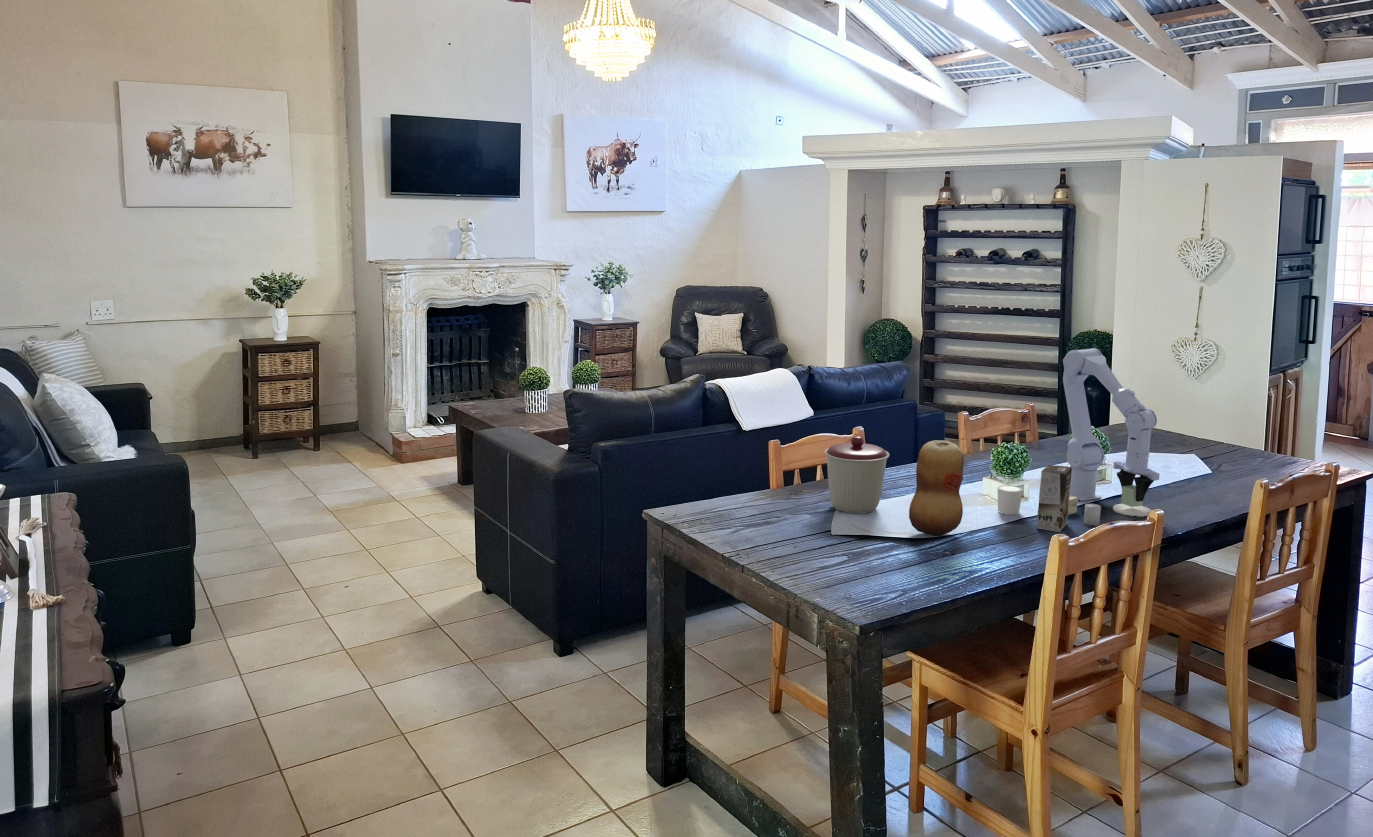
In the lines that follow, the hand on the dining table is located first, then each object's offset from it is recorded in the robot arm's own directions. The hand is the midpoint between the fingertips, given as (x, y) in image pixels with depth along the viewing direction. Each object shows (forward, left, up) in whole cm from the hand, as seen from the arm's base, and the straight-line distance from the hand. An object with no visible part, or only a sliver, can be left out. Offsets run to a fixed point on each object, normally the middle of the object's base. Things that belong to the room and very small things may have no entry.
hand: (1133, 498), depth 288 cm
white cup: (-13, -33, -4) cm, 36 cm away
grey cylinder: (+4, -19, -4) cm, 20 cm away
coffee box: (+2, -31, -4) cm, 31 cm away
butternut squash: (-4, -65, -4) cm, 65 cm away
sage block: (0, 0, -2) cm, 2 cm away
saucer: (0, 0, -4) cm, 4 cm away
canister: (-32, -72, -4) cm, 79 cm away
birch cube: (-7, -18, -4) cm, 20 cm away
